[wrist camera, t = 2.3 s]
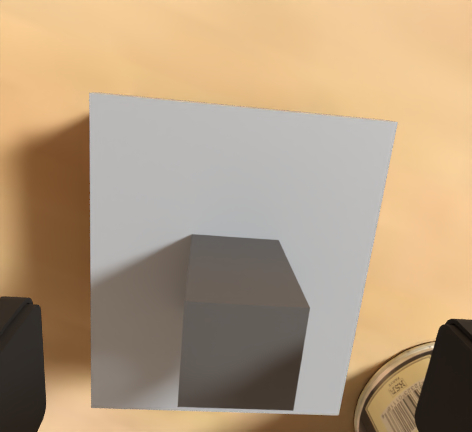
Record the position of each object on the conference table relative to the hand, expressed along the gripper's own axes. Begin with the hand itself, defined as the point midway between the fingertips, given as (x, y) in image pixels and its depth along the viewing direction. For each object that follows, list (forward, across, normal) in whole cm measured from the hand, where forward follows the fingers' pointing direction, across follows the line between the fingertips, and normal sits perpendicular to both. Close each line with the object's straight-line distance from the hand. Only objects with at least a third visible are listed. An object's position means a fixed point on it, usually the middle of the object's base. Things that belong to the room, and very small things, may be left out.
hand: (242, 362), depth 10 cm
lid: (+7, 0, +1) cm, 7 cm away
